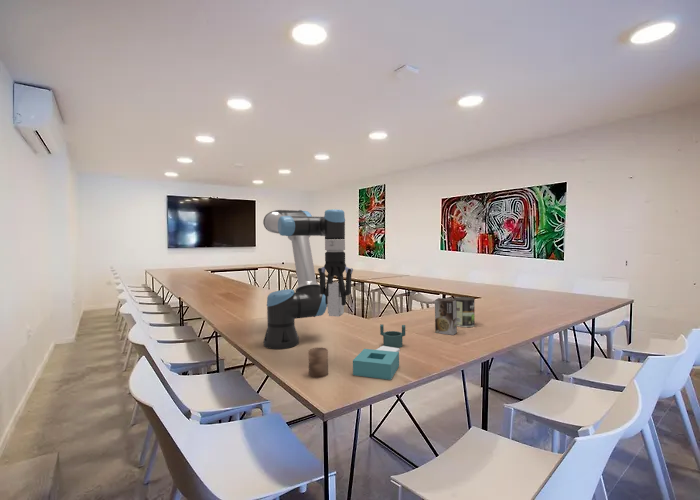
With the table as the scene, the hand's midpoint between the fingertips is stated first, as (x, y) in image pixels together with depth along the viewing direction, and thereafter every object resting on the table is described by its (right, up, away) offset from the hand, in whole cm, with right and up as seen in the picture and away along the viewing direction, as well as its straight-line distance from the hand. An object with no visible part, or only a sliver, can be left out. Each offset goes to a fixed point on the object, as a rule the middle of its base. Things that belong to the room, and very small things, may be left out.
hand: (335, 313), depth 129 cm
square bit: (0, -1, 0) cm, 1 cm away
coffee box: (+52, -16, +37) cm, 66 cm away
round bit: (-5, -18, -12) cm, 23 cm away
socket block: (+15, -18, -10) cm, 25 cm away
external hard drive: (+19, -18, +8) cm, 27 cm away
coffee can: (+65, -16, +51) cm, 85 cm away
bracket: (+24, -17, +19) cm, 35 cm away
